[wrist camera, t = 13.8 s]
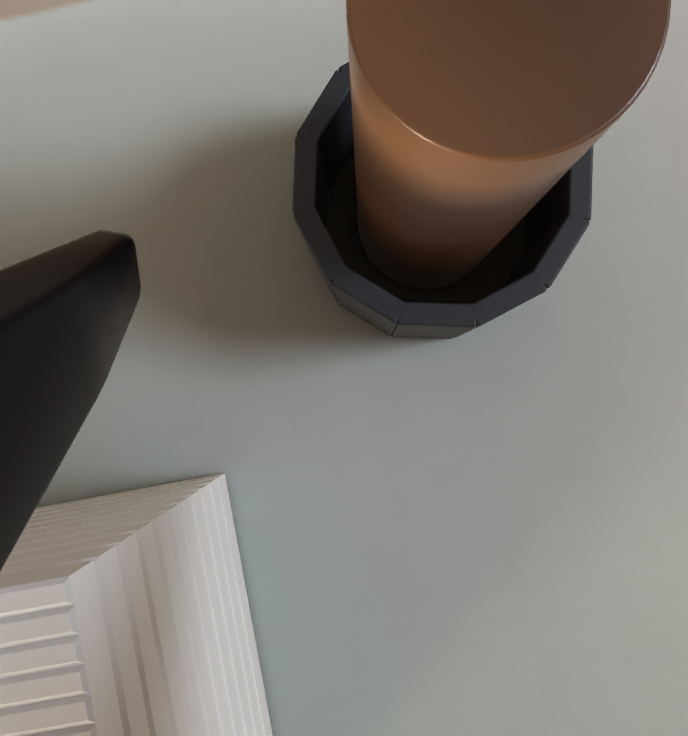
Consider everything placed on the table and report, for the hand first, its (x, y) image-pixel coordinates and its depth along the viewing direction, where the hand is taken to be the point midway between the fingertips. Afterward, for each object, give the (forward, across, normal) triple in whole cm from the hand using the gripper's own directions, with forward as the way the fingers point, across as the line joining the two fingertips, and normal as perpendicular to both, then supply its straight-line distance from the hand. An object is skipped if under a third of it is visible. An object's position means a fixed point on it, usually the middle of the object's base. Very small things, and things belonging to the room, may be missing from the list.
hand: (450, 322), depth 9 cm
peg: (+12, 0, +5) cm, 13 cm away
